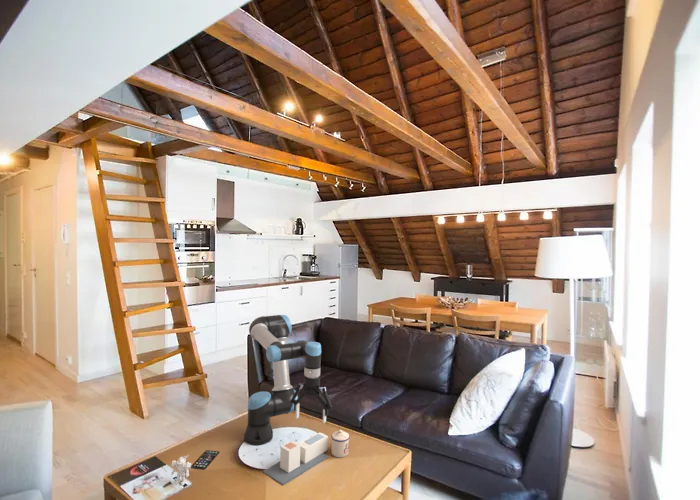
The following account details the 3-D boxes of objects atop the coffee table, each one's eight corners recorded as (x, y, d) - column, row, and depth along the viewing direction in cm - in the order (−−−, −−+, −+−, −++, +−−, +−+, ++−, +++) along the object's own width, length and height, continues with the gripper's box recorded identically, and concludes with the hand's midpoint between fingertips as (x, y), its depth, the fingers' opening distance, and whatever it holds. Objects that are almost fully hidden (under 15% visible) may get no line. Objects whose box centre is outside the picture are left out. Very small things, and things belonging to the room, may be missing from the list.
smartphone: (220, 451, 191) (204, 469, 176) (220, 452, 191) (204, 470, 176) (206, 450, 192) (189, 467, 177) (206, 451, 192) (189, 468, 177)
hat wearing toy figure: (192, 481, 168) (193, 454, 167) (187, 487, 164) (187, 459, 163) (173, 478, 169) (174, 452, 169) (168, 484, 165) (168, 457, 165)
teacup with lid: (347, 459, 188) (347, 436, 188) (329, 456, 190) (329, 433, 189) (351, 446, 200) (351, 424, 200) (334, 444, 201) (334, 422, 201)
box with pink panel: (279, 467, 178) (280, 446, 178) (291, 461, 184) (291, 440, 183) (288, 472, 174) (289, 451, 174) (299, 466, 180) (300, 445, 179)
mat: (263, 472, 176) (263, 470, 176) (308, 446, 198) (308, 445, 198) (283, 485, 167) (283, 484, 167) (328, 457, 189) (328, 456, 189)
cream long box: (294, 459, 185) (294, 445, 185) (319, 445, 199) (319, 431, 198) (303, 464, 181) (303, 449, 181) (327, 449, 195) (328, 435, 195)
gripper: (284, 375, 179) (282, 419, 180) (335, 382, 173) (333, 427, 174) (290, 369, 186) (289, 412, 187) (339, 376, 180) (338, 420, 181)
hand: (310, 419), depth 181 cm, fingers open, 13 cm apart
